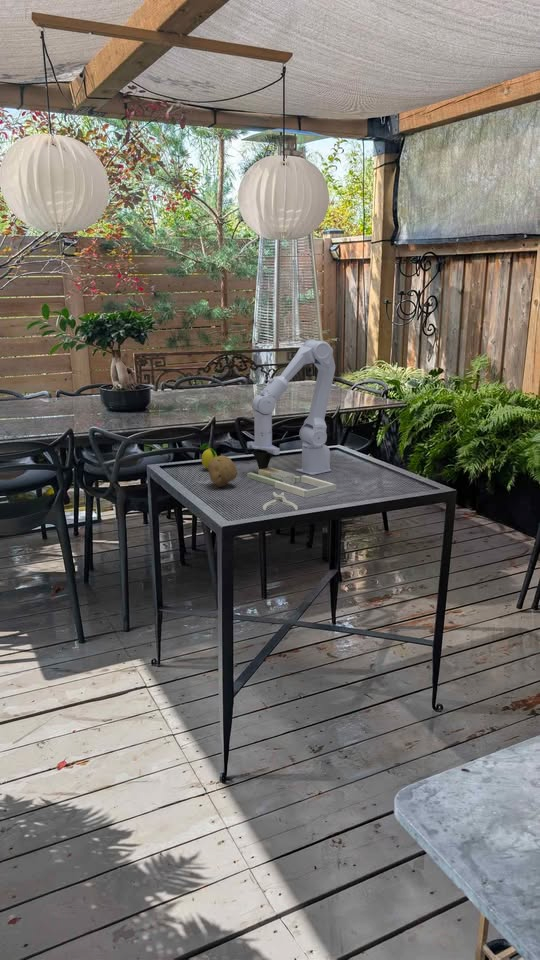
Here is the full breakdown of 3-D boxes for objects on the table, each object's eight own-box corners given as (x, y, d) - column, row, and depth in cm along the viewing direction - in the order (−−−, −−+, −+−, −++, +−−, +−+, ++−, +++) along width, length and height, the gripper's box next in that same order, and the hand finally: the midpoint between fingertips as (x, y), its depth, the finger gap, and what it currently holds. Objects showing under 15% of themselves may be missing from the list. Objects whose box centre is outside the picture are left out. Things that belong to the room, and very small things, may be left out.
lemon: (200, 468, 244) (200, 439, 241) (217, 467, 244) (217, 439, 242) (200, 472, 237) (200, 443, 235) (218, 472, 238) (217, 443, 235)
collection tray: (304, 481, 227) (304, 475, 227) (335, 490, 216) (336, 484, 216) (274, 487, 219) (274, 481, 219) (306, 497, 209) (306, 491, 208)
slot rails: (270, 472, 238) (270, 468, 237) (300, 481, 227) (300, 477, 226) (247, 477, 232) (247, 473, 231) (276, 486, 221) (276, 482, 220)
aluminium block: (282, 479, 229) (282, 470, 229) (294, 483, 225) (294, 474, 224) (270, 482, 226) (270, 473, 226) (282, 485, 222) (282, 476, 221)
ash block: (270, 475, 234) (270, 467, 233) (281, 479, 229) (281, 470, 228) (258, 478, 231) (258, 469, 230) (270, 482, 226) (270, 473, 225)
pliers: (262, 506, 196) (261, 492, 210) (262, 512, 196) (261, 497, 211) (298, 506, 196) (294, 491, 211) (298, 511, 197) (294, 496, 211)
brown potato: (237, 482, 225) (237, 452, 222) (236, 490, 216) (236, 459, 214) (209, 483, 225) (208, 452, 222) (207, 490, 216) (206, 459, 214)
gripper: (239, 430, 232) (240, 469, 236) (267, 436, 221) (267, 478, 225) (256, 427, 237) (256, 466, 240) (284, 434, 226) (284, 474, 229)
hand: (263, 472), depth 233 cm, fingers closed
